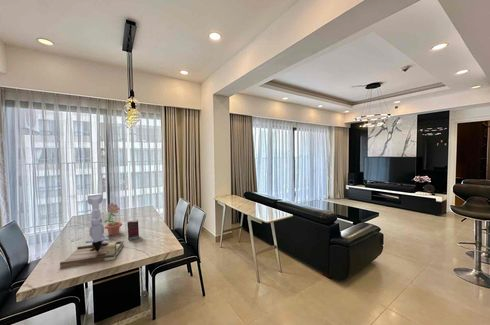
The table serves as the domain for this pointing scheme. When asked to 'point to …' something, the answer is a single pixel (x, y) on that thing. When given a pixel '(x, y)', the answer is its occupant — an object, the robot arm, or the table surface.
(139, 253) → the table surface
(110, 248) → the block
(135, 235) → the supplement box
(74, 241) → the table surface
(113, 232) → the decorative flower
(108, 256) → the trap box
